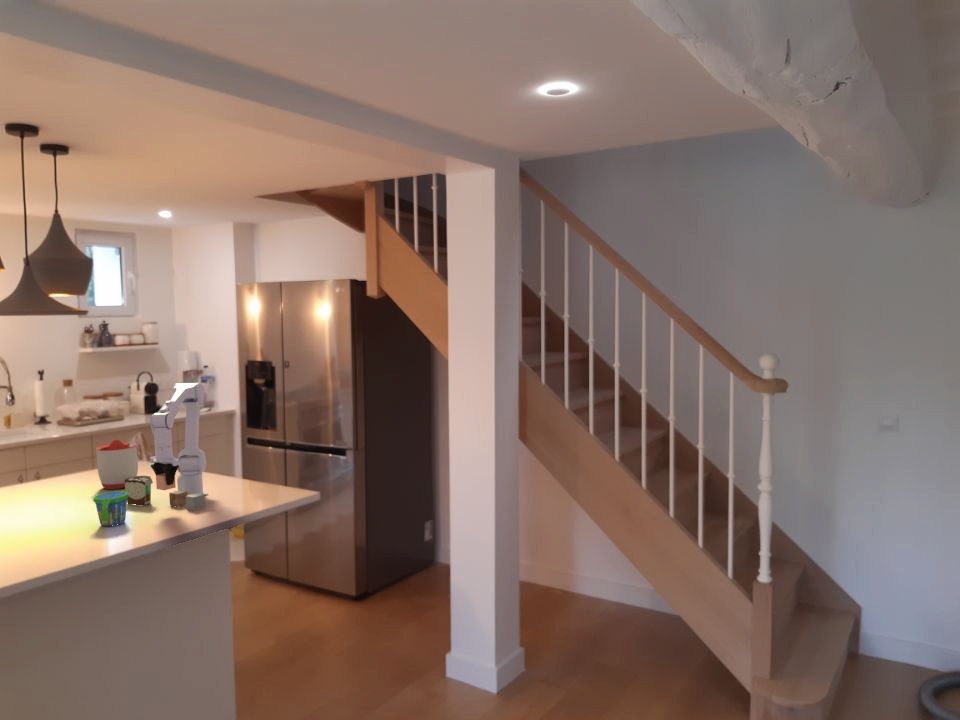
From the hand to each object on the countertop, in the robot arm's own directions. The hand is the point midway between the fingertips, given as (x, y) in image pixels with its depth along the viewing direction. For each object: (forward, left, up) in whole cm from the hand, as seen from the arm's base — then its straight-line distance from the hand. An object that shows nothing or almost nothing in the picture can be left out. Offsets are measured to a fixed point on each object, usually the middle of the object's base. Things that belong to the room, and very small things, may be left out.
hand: (165, 483), depth 262 cm
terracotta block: (0, 0, -2) cm, 2 cm away
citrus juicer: (-55, +15, -11) cm, 58 cm away
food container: (-20, +3, -11) cm, 23 cm away
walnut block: (-5, +8, -10) cm, 14 cm away
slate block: (+5, +8, -10) cm, 14 cm away
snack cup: (-4, -18, -11) cm, 21 cm away
